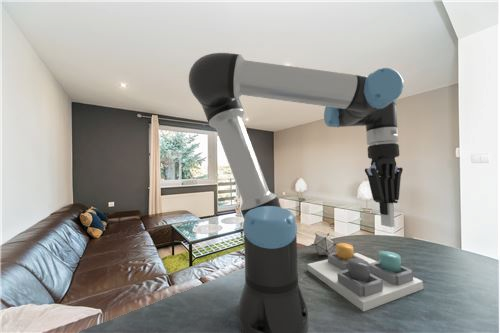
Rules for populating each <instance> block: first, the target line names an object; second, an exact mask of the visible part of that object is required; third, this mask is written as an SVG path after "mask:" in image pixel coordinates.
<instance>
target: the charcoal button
mask: <svg viewBox="0 0 500 333" xmlns="http://www.w3.org/2000/svg"><path fill="white" fill-rule="evenodd" d="M348 275H349V276H350V277H351V278H353V279H355V280H358V281H369V280H370V264H369V263H368V262H367V261H365V260H362V259H358V258H350V259H348Z"/></svg>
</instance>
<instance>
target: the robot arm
mask: <svg viewBox="0 0 500 333" xmlns="http://www.w3.org/2000/svg"><path fill="white" fill-rule="evenodd" d="M188 85H189V90H190V91H191V93H192V95H193V96H194V97H195V99H196V100H197V101H198V103H199V104H200V105H201V108H202V109H203V112H204V115H205V117H206V120H207V122H208V125H209V126H210V127H211V128H213V129H215V130H216V133H217V136H218V138H219V141H220V145H221V147H222V149H223V151H224V154H225V157H226V160H227V162H228V165H229V168H230V170H231V173H232V176H233V179H234V181H235V184H236V187H237V189H238V192H239V194H240V198H241V200H242V203H241V206H240V208H239V209H240V211H241V214H242V217H243V223H242V224H243V225H242V230H243V233H244V234H243V236H244V237H243V241H244V277H245V278H244V279H245V280H244V285H243V289H242V292H241V296H240V299H239V302H238V306H237V322H238V326H239V330H240V332H241V331H242V332H243V333H308V330H309V313H308V308H307V305H306V301H305V299H304V296H303V293H302V291H301V288H300V284H299V273H298V272H299V269H298V245H297V244H298V241H297V234H298V226H297V222H296V217H295V215H294V213H293V212H292V211H291V210H289V209H287V208H283V207H282V206H281V204H280V201H279V198H278V195H277V194H275V193H273V192H271V191H270V189H269V187H268V184H267V180H266V179H265V175H264V173H263V170H262V169H261V168H262V167H261V166H260V163H259V161H258V158H257V155H256V153H255V150H254V147H253V145H252V142H251V140H250V136H249V133H248V132H247V129H246V126H245V123H244V121H243V118H244V116H245V110H244V107H243V106H242V105H243V104H242V103H241V99H240V97H241V96H247V97H256V98H263V99H269V100H277V101H282V102H283V101H284V102H292V103H299V104H306V105H312V106H319V107H324V113H323V114H324V115H323V120H324V124H325V125H326V126H327V127H329V128H345V127H347V128H348V127H364V126H365V129H366V130H365V132H366V145H367V158H369V159H370V160H371V161H370V166H369V168H368V167H367V168H365V169H364V172H365V174H366V176H367V180H368V182H369V183H368V184H369V187H370V192H371V196H372V200H373V202H375V203H379V213H380V225H381V226H384V227H389V228H394V227H395V225H396V224H395V215H394V214H395V207H394V204H398V203H399V201H398V200H399V199H400V192H401V191H400V190H401V189H400V188H401V178H402V173H403V170H404V169H403V167H399V166H397V161H396V158H398V157H399V156H400V144H398V141H399V135H398V133H399V130H398V119H397V117H398V116H397V115H398V114H397V112H398V111H397V106H398V105H397V101H396V100H398V98H400V96H401V95H402V93H403V90H404V79H403V77H402V76H401V74H400V73H399V72H398V71H397V70H395V69H393V68H389V67H383V68H378V69H376V70H375V71H373V72H371V73H369V75H360V74H351V73H344V72H336V71H328V70H320V69H313V68H307V67H298V66H290V65H282V64H275V63H269V62H268V63H267V62H263V61H262V62H260V61H253V60H245V58H244V57H243V55H242V54H238V53H232V52H231V53H229V52H213V53H209V54H206V55H203V56H201V57H199V58H198V59H197V60H196V61H194V63H193V65H192V66H191V68H190V70H189V73H188ZM242 332H241V333H242Z"/></svg>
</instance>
